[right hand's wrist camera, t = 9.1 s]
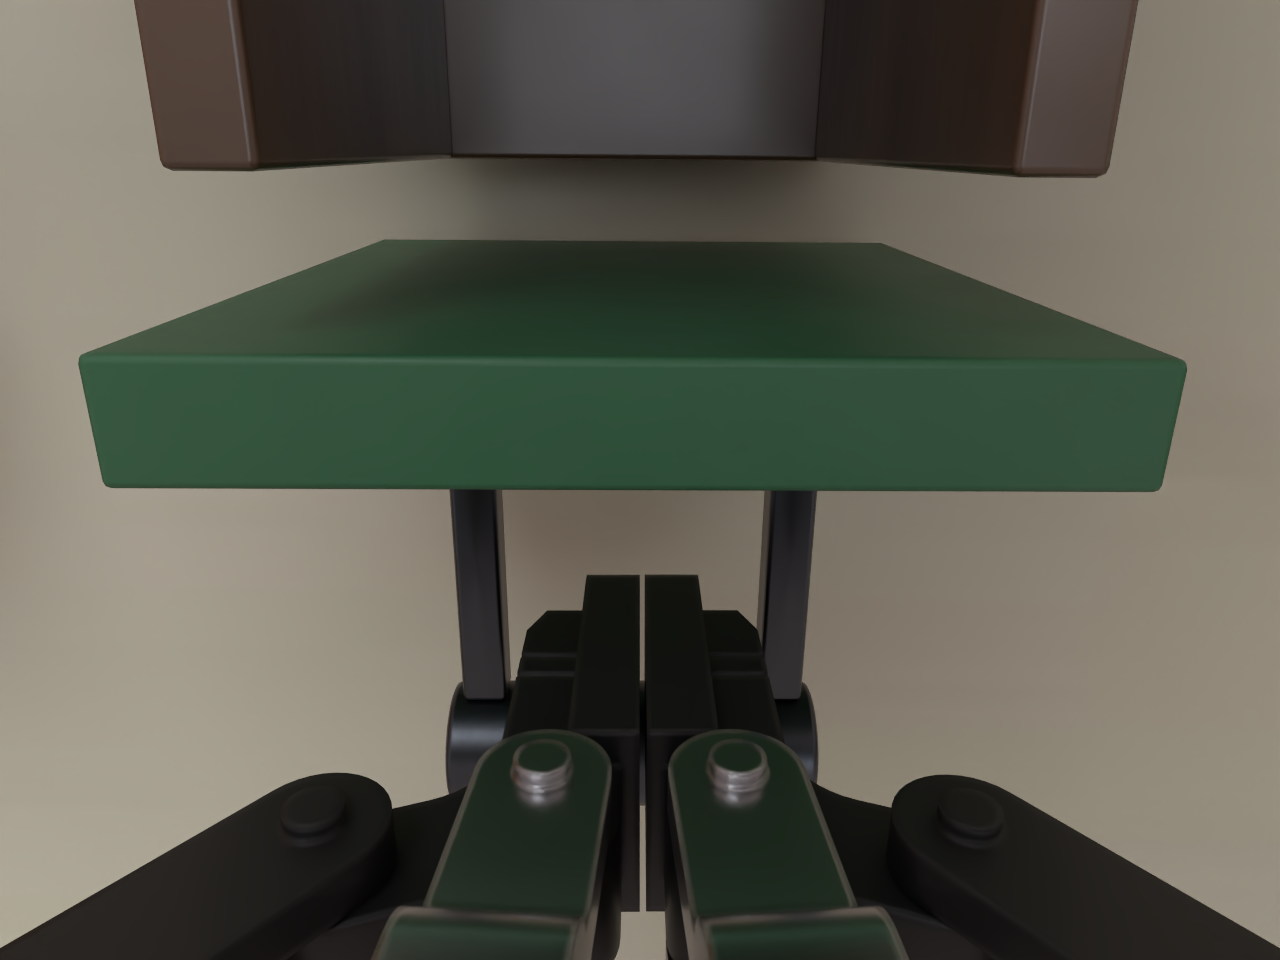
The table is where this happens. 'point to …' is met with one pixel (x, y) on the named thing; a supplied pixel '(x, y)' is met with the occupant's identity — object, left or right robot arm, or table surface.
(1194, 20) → the table surface
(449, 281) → the drawer
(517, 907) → the right robot arm
